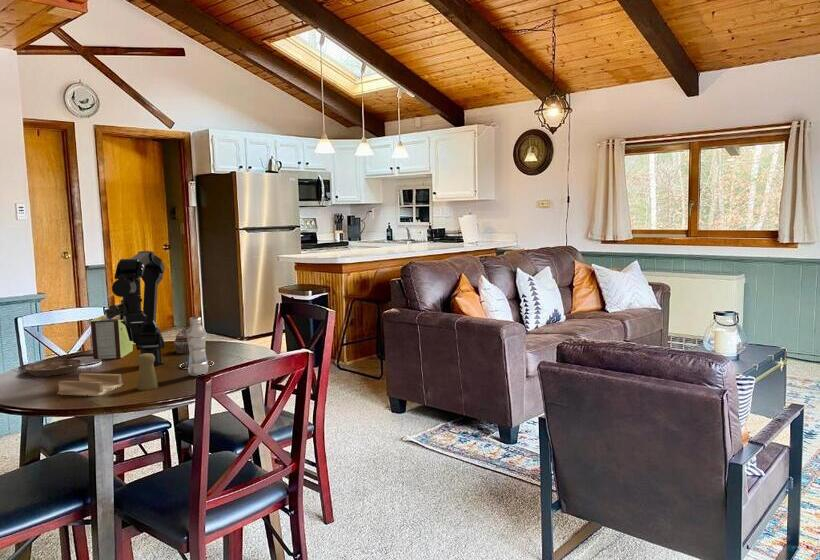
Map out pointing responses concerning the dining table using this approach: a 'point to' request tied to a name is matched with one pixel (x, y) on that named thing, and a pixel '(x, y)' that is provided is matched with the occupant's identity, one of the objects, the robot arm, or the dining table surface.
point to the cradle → (90, 384)
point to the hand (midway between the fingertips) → (133, 342)
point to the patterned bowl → (188, 361)
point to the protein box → (109, 338)
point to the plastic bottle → (196, 347)
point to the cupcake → (182, 341)
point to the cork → (146, 372)
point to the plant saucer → (41, 370)
